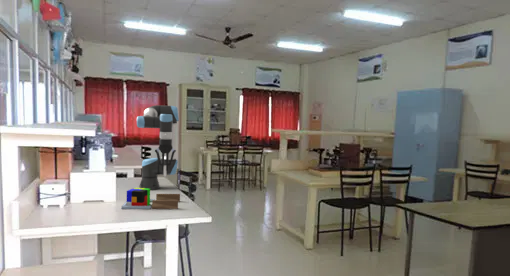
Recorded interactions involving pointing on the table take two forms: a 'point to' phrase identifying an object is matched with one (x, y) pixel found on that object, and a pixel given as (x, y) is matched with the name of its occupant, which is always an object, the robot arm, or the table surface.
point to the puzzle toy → (138, 197)
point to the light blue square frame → (136, 206)
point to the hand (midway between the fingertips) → (164, 175)
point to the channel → (166, 201)
